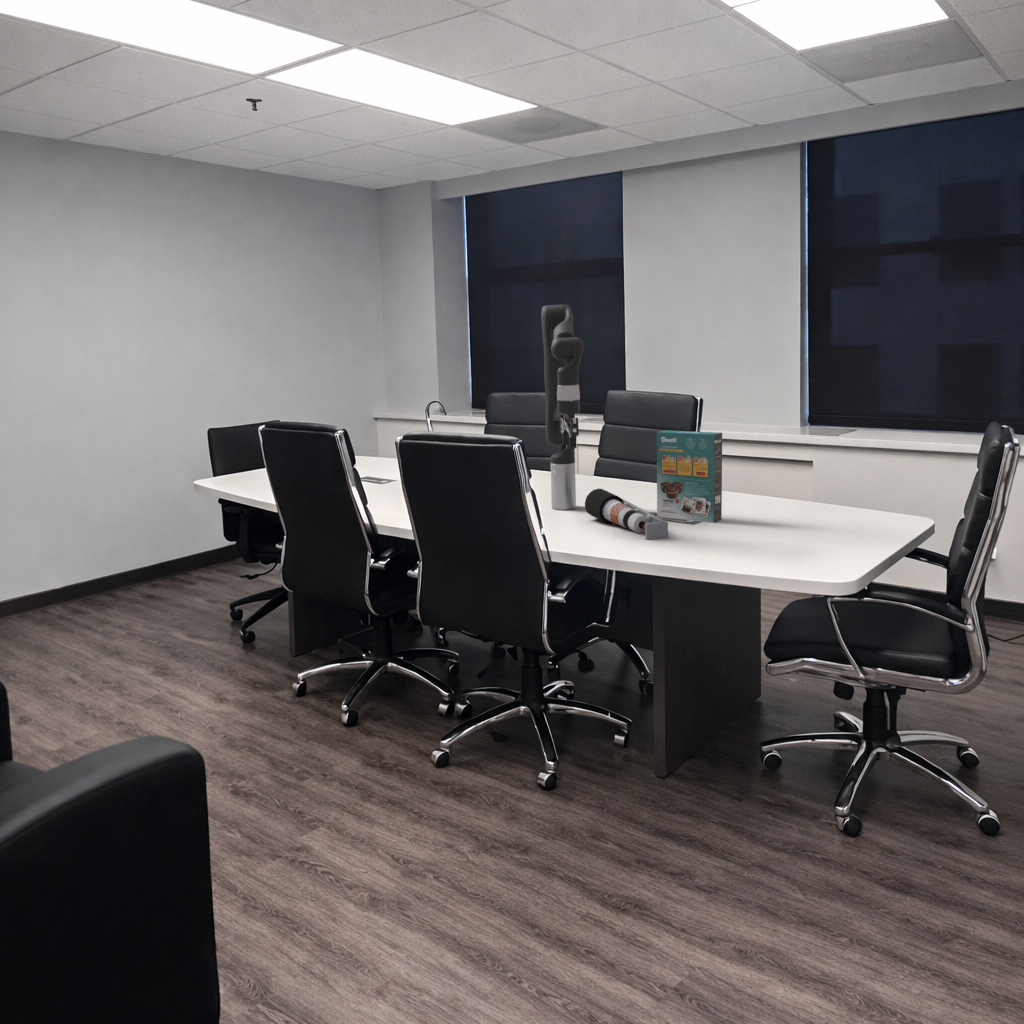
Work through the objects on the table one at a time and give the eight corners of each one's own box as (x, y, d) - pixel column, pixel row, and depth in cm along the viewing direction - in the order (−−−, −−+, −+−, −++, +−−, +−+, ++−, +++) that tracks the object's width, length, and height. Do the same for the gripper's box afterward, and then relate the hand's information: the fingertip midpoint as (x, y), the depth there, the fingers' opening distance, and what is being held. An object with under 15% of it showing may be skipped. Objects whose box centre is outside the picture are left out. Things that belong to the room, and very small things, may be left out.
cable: (643, 550, 296) (632, 524, 292) (591, 521, 326) (580, 498, 322) (668, 533, 299) (657, 507, 294) (613, 506, 328) (603, 483, 324)
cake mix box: (721, 519, 317) (722, 432, 312) (713, 522, 313) (713, 434, 307) (665, 513, 331) (665, 430, 326) (657, 516, 327) (656, 432, 321)
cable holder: (601, 512, 338) (601, 498, 337) (619, 510, 340) (619, 497, 339) (646, 539, 291) (646, 523, 290) (667, 537, 292) (667, 522, 291)
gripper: (552, 397, 313) (553, 444, 317) (563, 400, 300) (564, 450, 303) (573, 396, 315) (574, 443, 318) (585, 399, 301) (586, 448, 305)
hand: (569, 446), depth 311 cm, fingers open, 8 cm apart
